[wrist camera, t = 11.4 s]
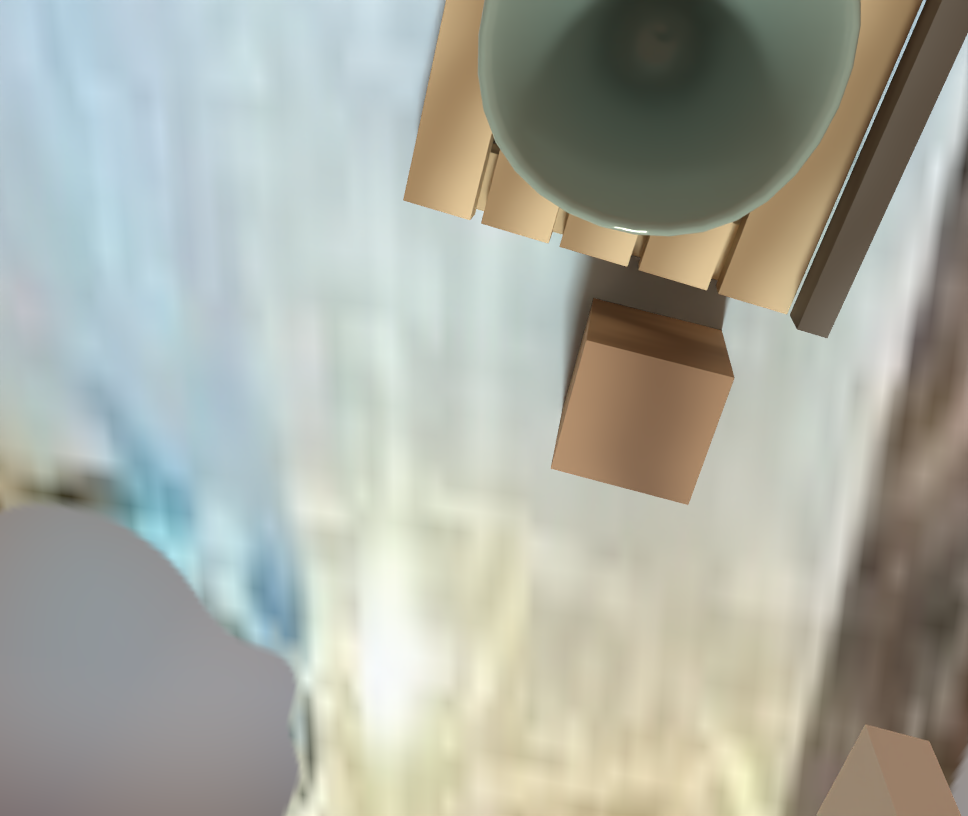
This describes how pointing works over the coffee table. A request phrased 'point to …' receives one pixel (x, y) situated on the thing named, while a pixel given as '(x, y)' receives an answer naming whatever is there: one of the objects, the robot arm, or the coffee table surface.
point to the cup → (663, 102)
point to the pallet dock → (756, 236)
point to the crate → (643, 401)
